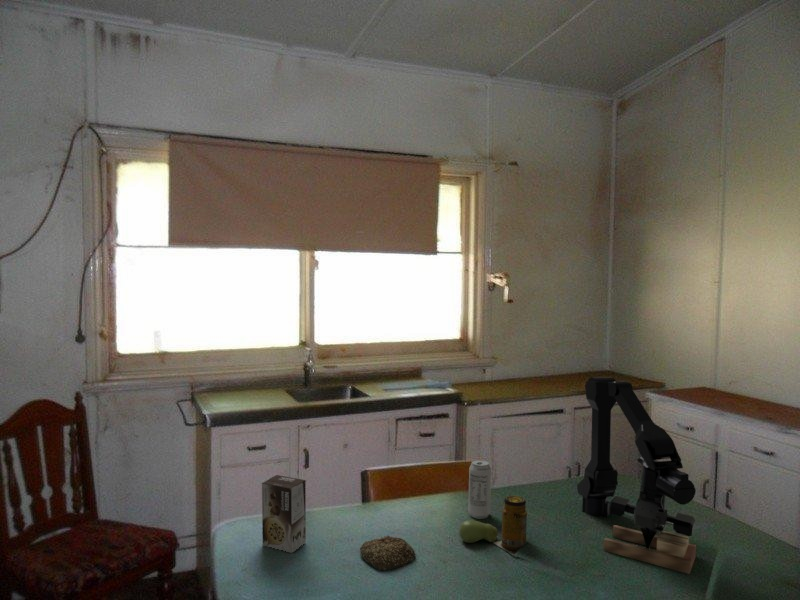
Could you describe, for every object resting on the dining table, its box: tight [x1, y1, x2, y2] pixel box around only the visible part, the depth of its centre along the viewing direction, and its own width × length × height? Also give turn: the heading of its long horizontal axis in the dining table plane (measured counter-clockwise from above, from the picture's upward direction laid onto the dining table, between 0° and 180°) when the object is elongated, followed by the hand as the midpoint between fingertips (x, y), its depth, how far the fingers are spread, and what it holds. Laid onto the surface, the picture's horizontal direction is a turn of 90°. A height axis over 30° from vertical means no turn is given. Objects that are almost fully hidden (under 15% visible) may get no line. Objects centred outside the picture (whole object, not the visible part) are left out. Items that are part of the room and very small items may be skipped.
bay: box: [602, 524, 697, 575], centre depth 143 cm, size 19×13×4 cm
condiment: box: [493, 495, 528, 558], centre depth 147 cm, size 7×8×12 cm
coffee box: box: [261, 474, 307, 554], centre depth 147 cm, size 9×6×16 cm
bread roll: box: [359, 535, 416, 571], centre depth 142 cm, size 13×12×5 cm
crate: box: [656, 530, 690, 558], centre depth 140 cm, size 6×6×5 cm
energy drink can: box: [467, 459, 492, 520], centre depth 166 cm, size 6×6×15 cm
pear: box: [458, 519, 498, 544], centre depth 151 cm, size 6×5×10 cm
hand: (647, 549), depth 143 cm, fingers closed
